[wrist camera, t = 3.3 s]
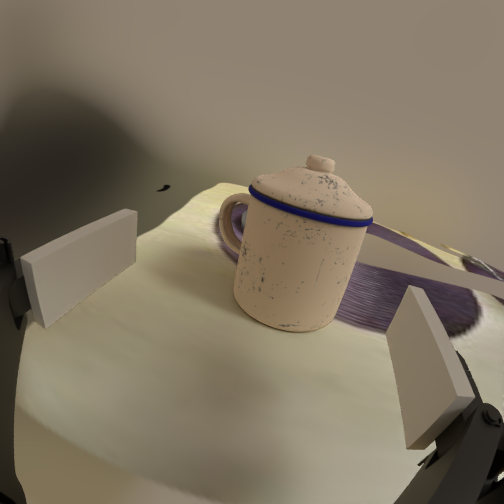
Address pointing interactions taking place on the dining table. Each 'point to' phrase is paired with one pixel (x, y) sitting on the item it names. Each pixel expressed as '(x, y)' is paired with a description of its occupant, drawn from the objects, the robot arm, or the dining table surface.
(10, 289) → the robot arm
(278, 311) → the teacup with lid
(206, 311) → the dining table surface
